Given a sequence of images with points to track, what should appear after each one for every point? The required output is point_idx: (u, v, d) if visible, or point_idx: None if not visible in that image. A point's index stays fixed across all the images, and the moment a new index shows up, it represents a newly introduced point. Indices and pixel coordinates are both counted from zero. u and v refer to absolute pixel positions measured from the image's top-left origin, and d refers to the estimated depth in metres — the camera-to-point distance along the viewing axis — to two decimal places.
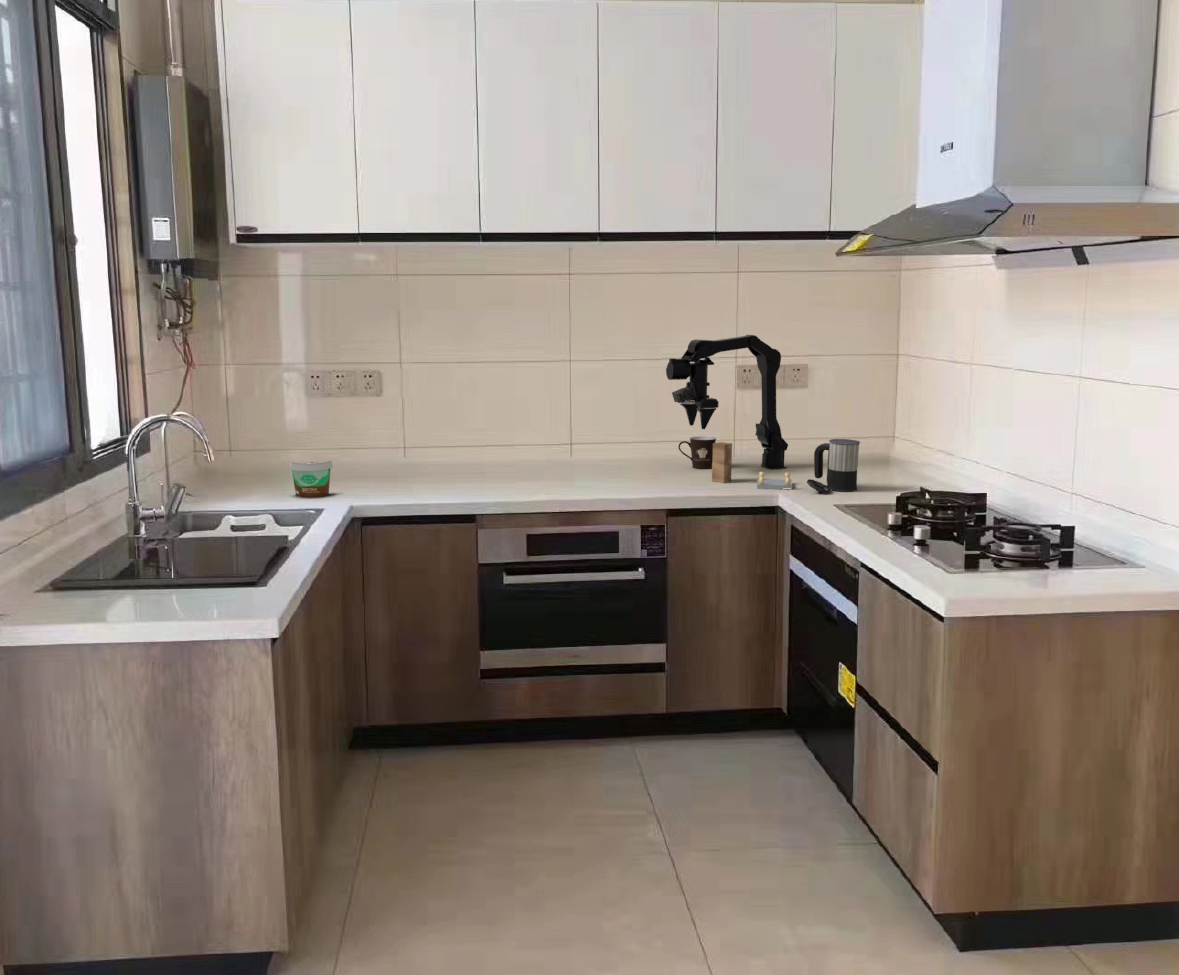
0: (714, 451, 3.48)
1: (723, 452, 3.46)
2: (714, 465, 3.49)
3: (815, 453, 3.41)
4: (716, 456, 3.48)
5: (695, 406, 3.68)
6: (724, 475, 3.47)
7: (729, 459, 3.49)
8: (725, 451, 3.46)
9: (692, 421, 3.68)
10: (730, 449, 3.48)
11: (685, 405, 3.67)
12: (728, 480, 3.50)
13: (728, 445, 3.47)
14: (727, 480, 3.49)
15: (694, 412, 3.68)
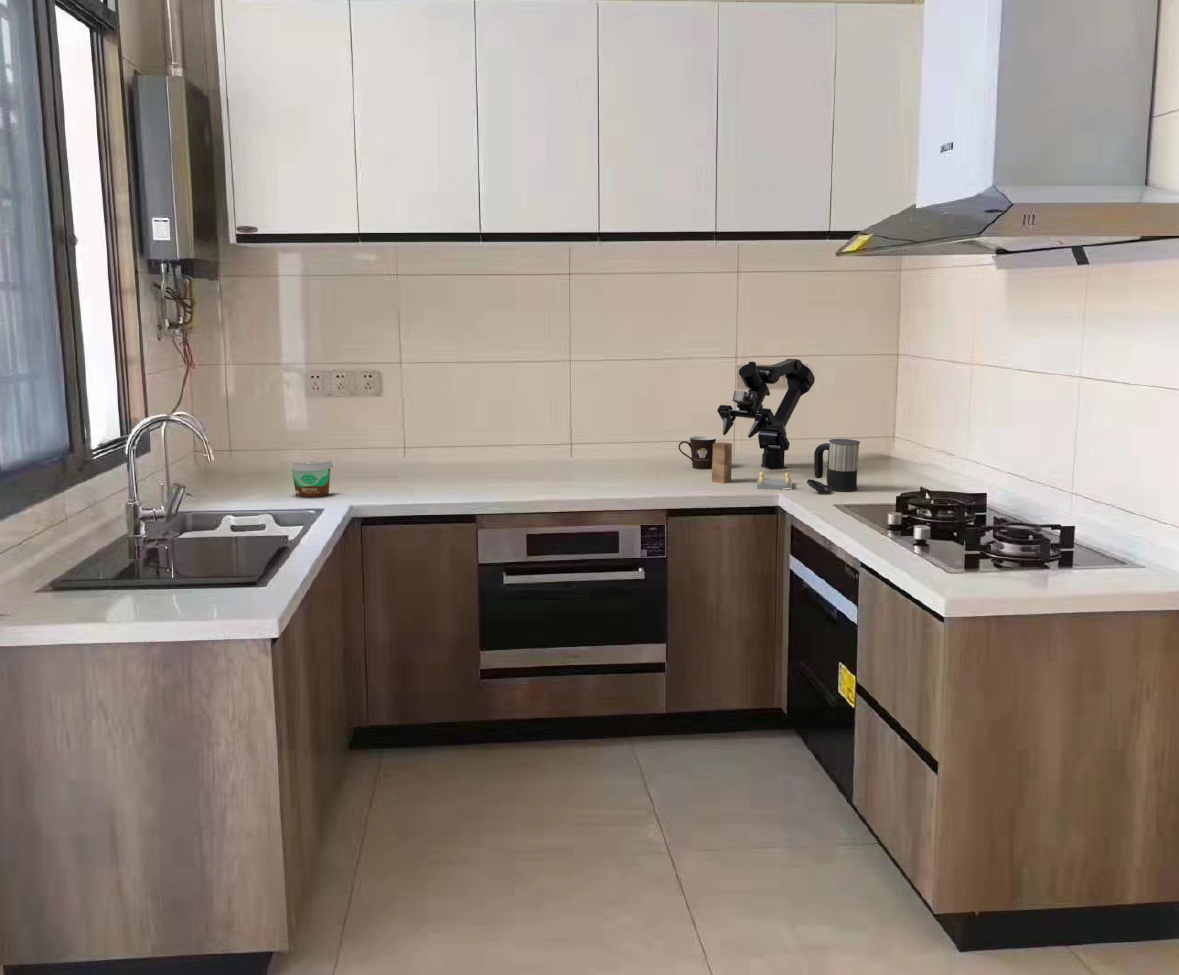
0: (714, 451, 3.48)
1: (723, 452, 3.46)
2: (714, 465, 3.49)
3: (815, 453, 3.41)
4: (715, 456, 3.48)
5: (731, 422, 3.61)
6: (724, 475, 3.47)
7: (729, 459, 3.49)
8: (725, 451, 3.46)
9: (726, 431, 3.58)
10: (730, 449, 3.48)
11: (727, 414, 3.59)
12: (728, 480, 3.50)
13: (728, 445, 3.47)
14: (727, 480, 3.49)
15: (729, 426, 3.60)
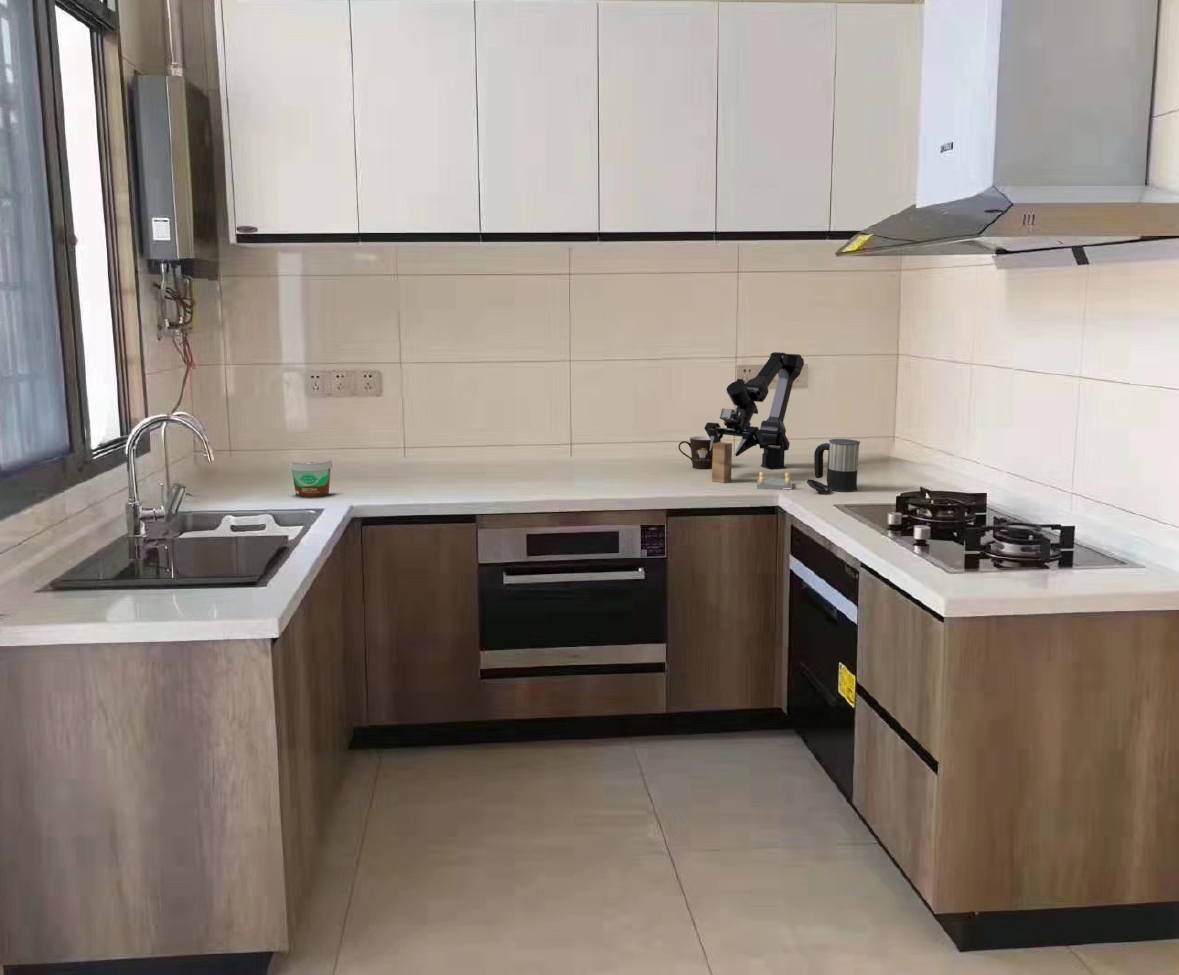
0: (714, 451, 3.48)
1: (723, 452, 3.46)
2: (714, 465, 3.49)
3: (815, 453, 3.41)
4: (716, 456, 3.48)
5: (718, 440, 3.56)
6: (724, 475, 3.47)
7: (729, 460, 3.49)
8: (725, 451, 3.46)
9: None
10: (730, 449, 3.48)
11: (715, 431, 3.54)
12: (728, 480, 3.50)
13: (728, 445, 3.47)
14: (727, 480, 3.49)
15: None
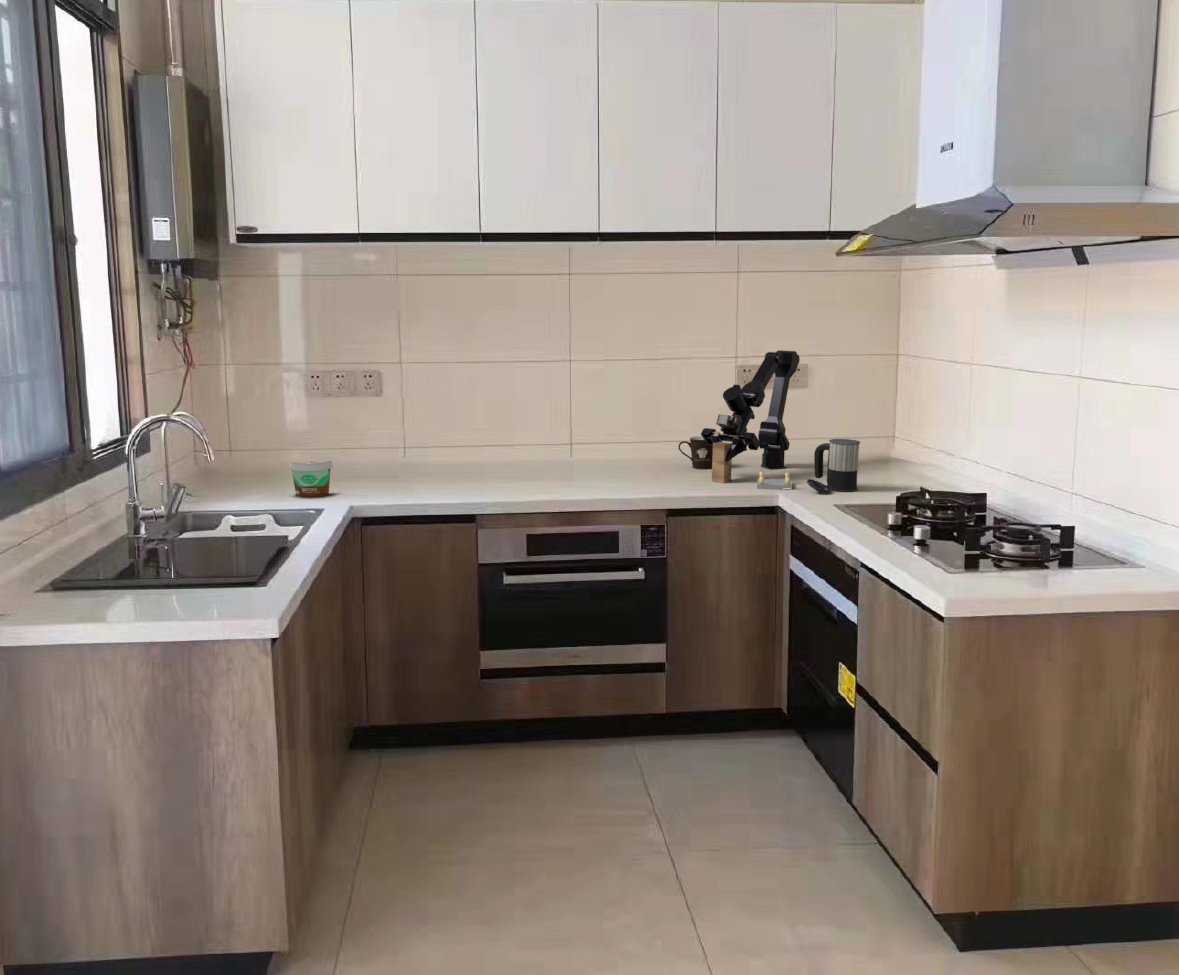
0: (714, 451, 3.48)
1: (723, 452, 3.46)
2: (714, 465, 3.49)
3: (815, 453, 3.41)
4: (715, 456, 3.48)
5: None
6: (724, 475, 3.47)
7: None
8: (725, 451, 3.46)
9: None
10: None
11: (718, 438, 3.51)
12: (728, 480, 3.50)
13: (728, 445, 3.47)
14: (727, 480, 3.49)
15: None
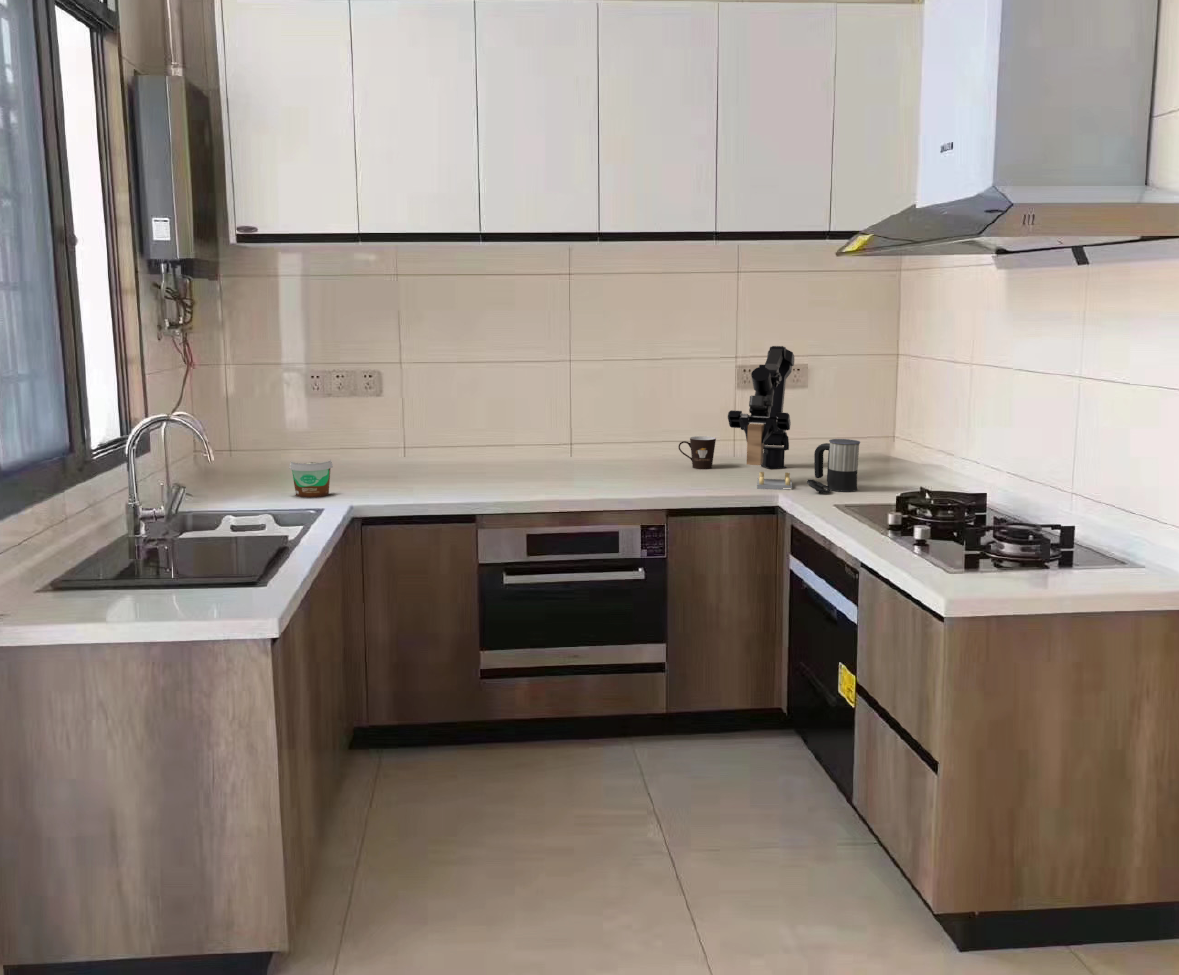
0: (749, 433, 3.40)
1: (760, 434, 3.39)
2: (749, 448, 3.41)
3: (815, 453, 3.41)
4: (751, 438, 3.40)
5: None
6: (760, 457, 3.41)
7: None
8: (761, 433, 3.40)
9: None
10: (763, 430, 3.42)
11: (748, 420, 3.44)
12: (762, 462, 3.44)
13: (762, 426, 3.41)
14: (761, 462, 3.43)
15: None
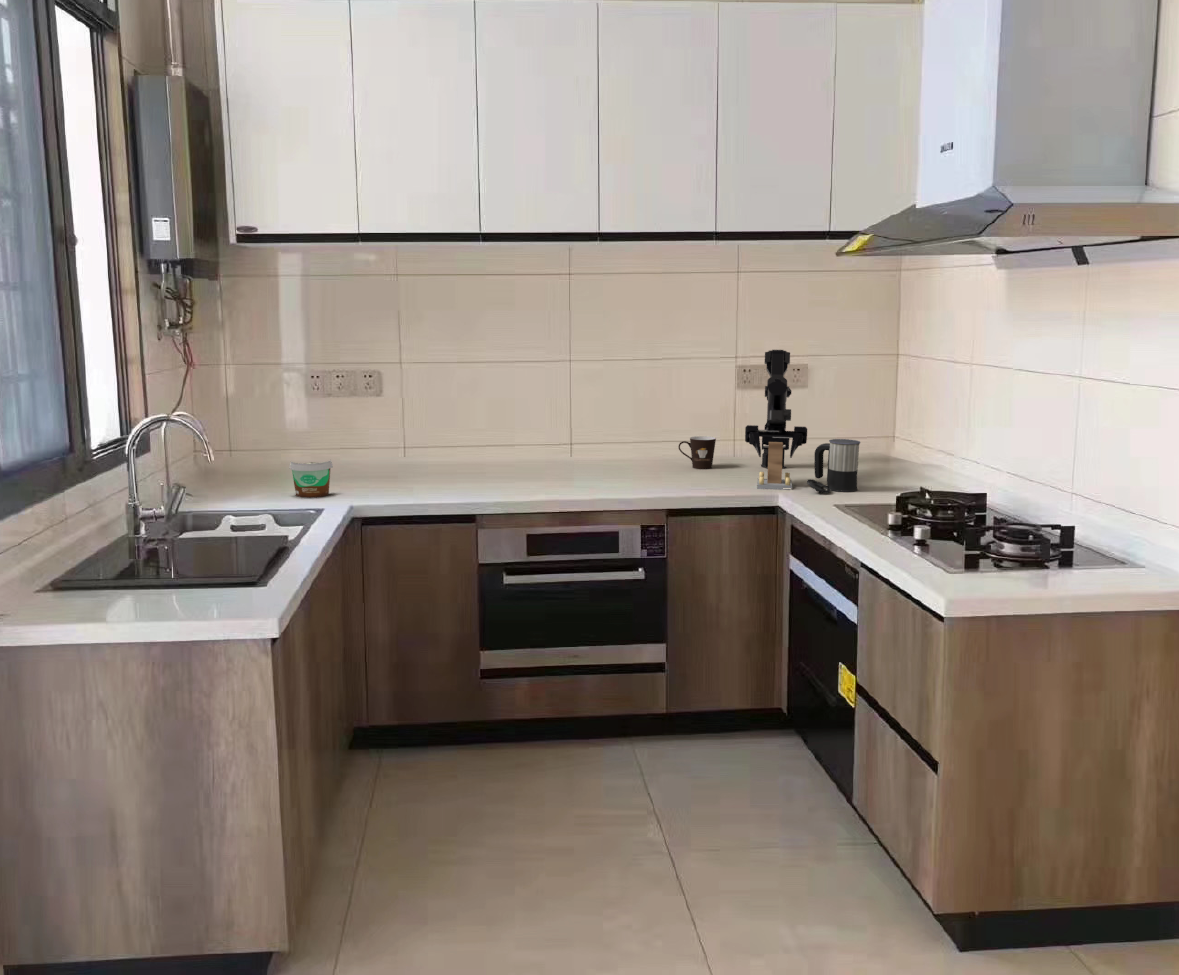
0: (770, 452, 3.39)
1: (781, 452, 3.39)
2: (770, 466, 3.40)
3: (815, 453, 3.41)
4: (772, 456, 3.39)
5: None
6: (781, 475, 3.40)
7: None
8: (782, 451, 3.39)
9: (760, 453, 3.42)
10: None
11: (759, 434, 3.43)
12: None
13: (782, 444, 3.41)
14: None
15: None
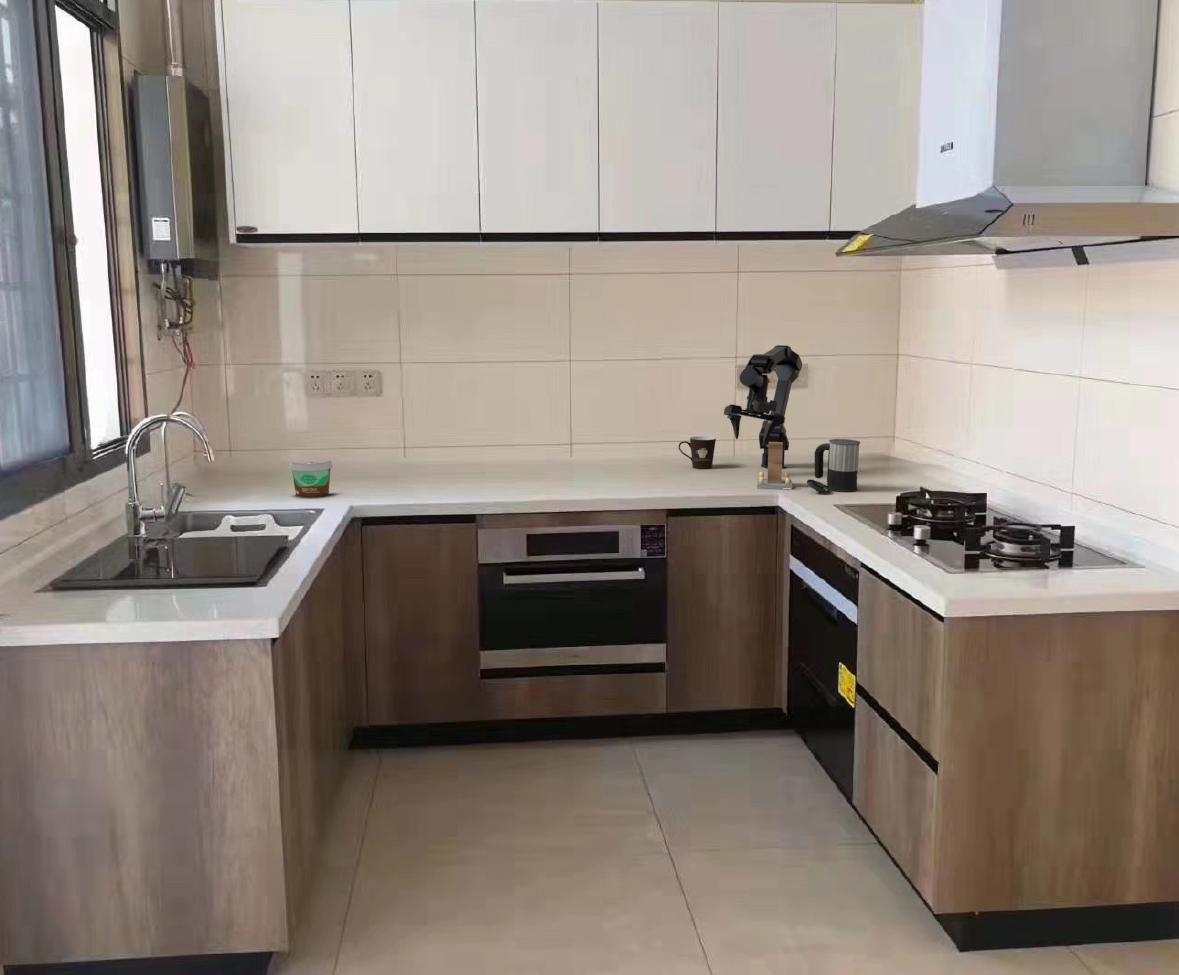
0: (770, 452, 3.39)
1: (781, 452, 3.39)
2: (770, 466, 3.40)
3: (815, 453, 3.40)
4: (772, 456, 3.39)
5: None
6: (781, 475, 3.40)
7: None
8: (782, 451, 3.39)
9: None
10: None
11: None
12: None
13: (782, 444, 3.41)
14: None
15: None
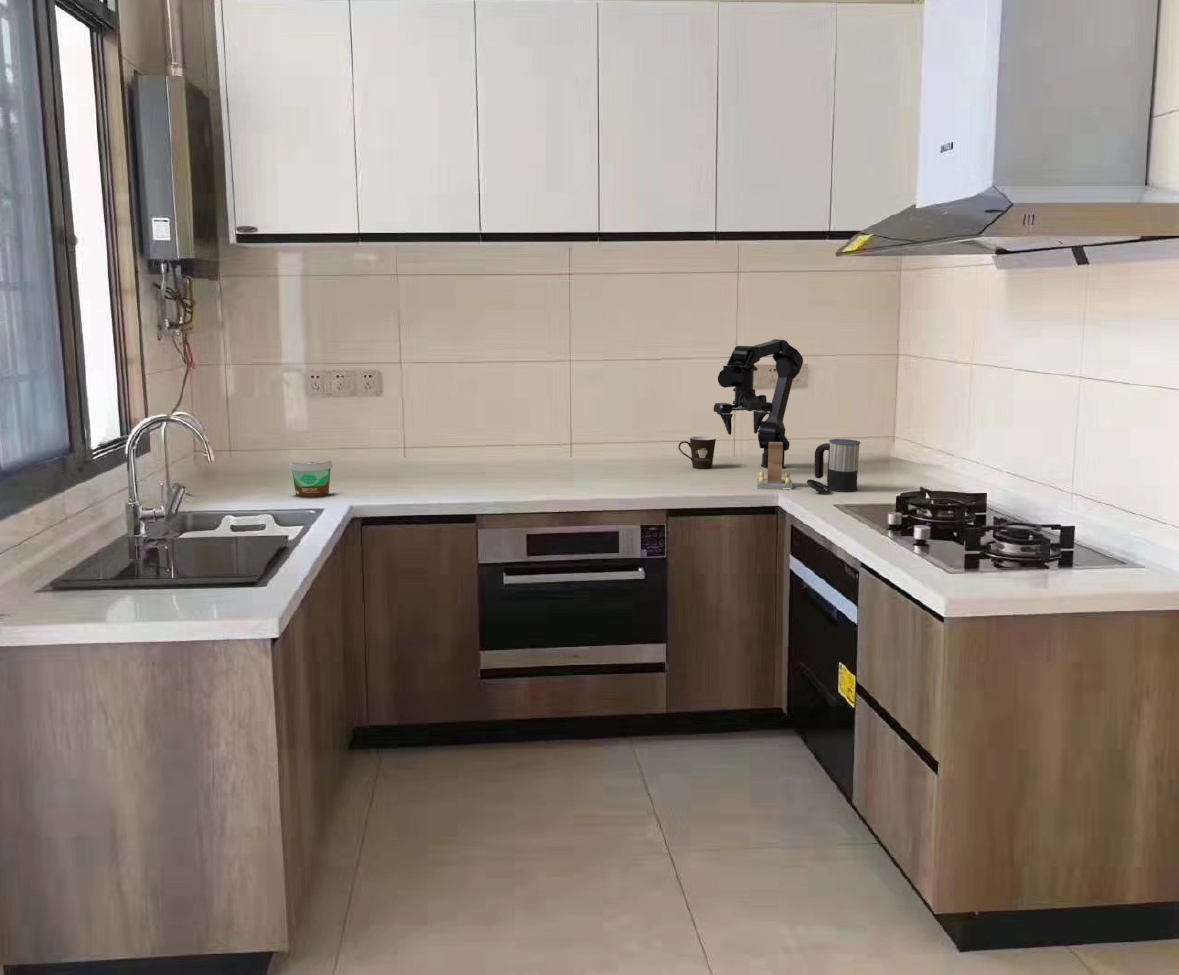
0: (770, 452, 3.39)
1: (781, 452, 3.39)
2: (770, 466, 3.40)
3: (815, 453, 3.40)
4: (772, 456, 3.39)
5: None
6: (781, 475, 3.40)
7: None
8: (782, 451, 3.39)
9: None
10: None
11: None
12: None
13: (782, 444, 3.41)
14: None
15: None
